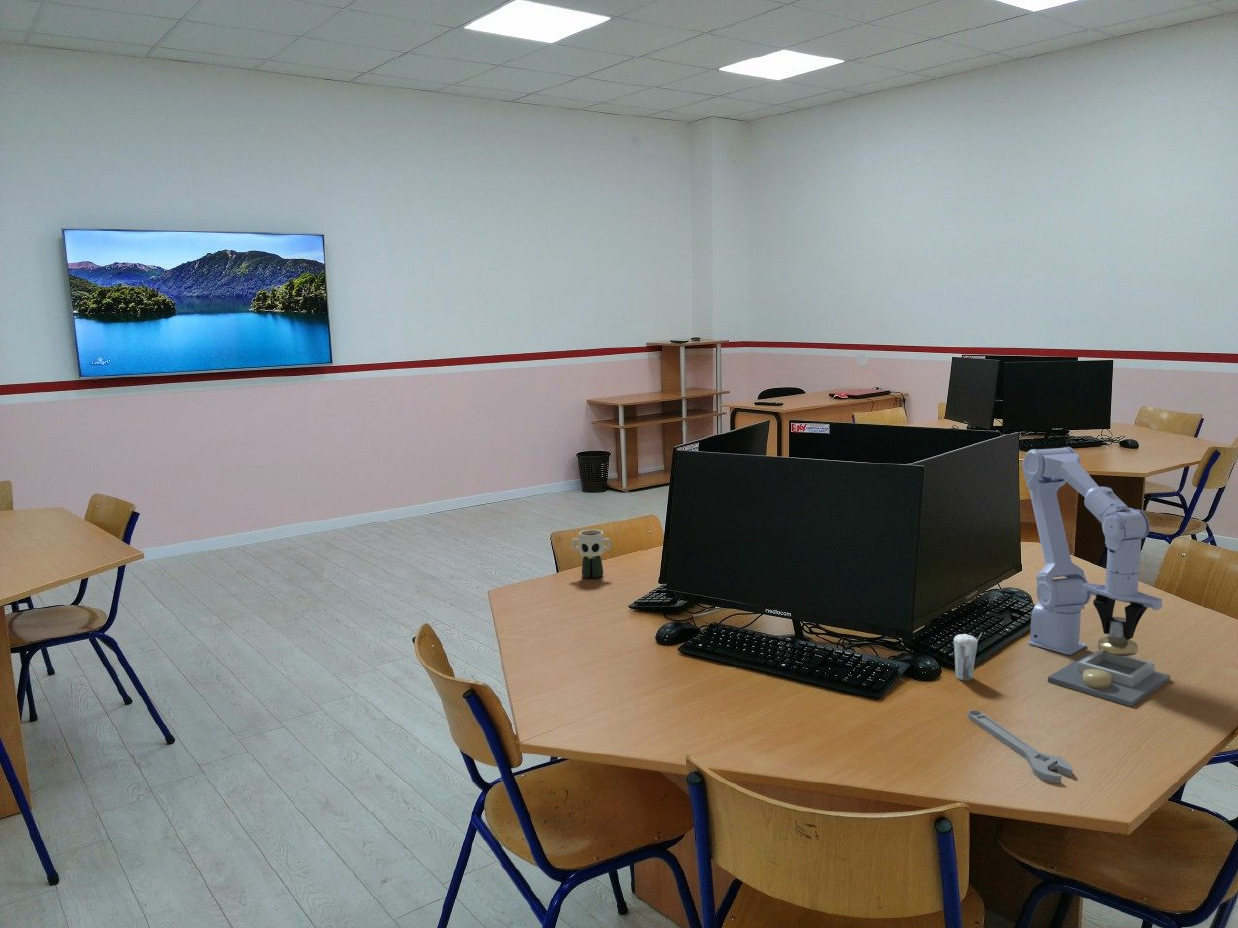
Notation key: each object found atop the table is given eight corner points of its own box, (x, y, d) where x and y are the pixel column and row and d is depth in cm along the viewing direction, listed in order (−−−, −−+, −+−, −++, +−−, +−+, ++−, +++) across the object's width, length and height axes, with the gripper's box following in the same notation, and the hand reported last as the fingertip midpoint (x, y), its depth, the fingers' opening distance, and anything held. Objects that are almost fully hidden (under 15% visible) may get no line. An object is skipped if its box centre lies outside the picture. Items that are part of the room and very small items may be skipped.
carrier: (1047, 681, 187) (1048, 667, 186) (1088, 657, 198) (1089, 644, 198) (1131, 706, 175) (1132, 691, 174) (1170, 679, 186) (1171, 665, 185)
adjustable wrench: (964, 718, 174) (964, 709, 173) (995, 715, 175) (996, 706, 174) (1045, 785, 149) (1045, 775, 149) (1081, 781, 150) (1082, 771, 150)
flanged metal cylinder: (1091, 649, 188) (1093, 620, 187) (1107, 639, 192) (1109, 611, 191) (1127, 658, 183) (1129, 629, 181) (1143, 648, 187) (1145, 619, 186)
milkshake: (982, 682, 187) (984, 636, 186) (954, 681, 188) (955, 634, 187) (978, 673, 192) (980, 628, 190) (950, 672, 193) (952, 626, 191)
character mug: (572, 580, 264) (570, 535, 261) (575, 572, 271) (573, 529, 268) (610, 579, 263) (608, 535, 260) (612, 572, 270) (611, 529, 267)
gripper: (1170, 573, 181) (1165, 639, 184) (1094, 559, 192) (1090, 621, 195) (1155, 581, 177) (1150, 648, 179) (1078, 566, 188) (1074, 629, 190)
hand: (1118, 635), depth 187 cm, fingers closed on flanged metal cylinder, 4 cm apart
